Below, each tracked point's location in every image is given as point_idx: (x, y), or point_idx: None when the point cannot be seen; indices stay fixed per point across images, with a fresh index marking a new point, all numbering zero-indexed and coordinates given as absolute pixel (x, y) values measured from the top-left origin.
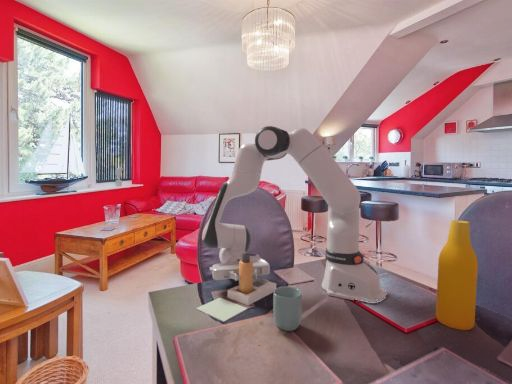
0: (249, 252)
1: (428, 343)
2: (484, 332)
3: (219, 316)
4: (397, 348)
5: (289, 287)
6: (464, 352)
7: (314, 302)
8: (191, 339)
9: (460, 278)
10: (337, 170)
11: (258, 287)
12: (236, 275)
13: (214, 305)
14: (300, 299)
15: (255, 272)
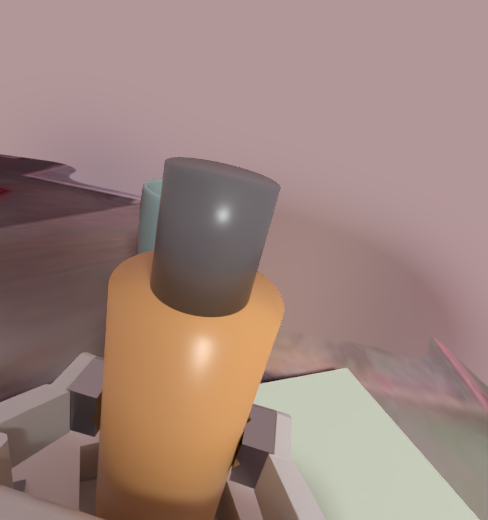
0: (177, 159)
1: (25, 180)
2: None
3: (361, 400)
4: (77, 197)
5: (155, 194)
6: (22, 168)
7: None
8: (433, 374)
9: None
10: None
11: (35, 475)
12: (281, 414)
13: (391, 515)
14: None
15: (72, 371)
